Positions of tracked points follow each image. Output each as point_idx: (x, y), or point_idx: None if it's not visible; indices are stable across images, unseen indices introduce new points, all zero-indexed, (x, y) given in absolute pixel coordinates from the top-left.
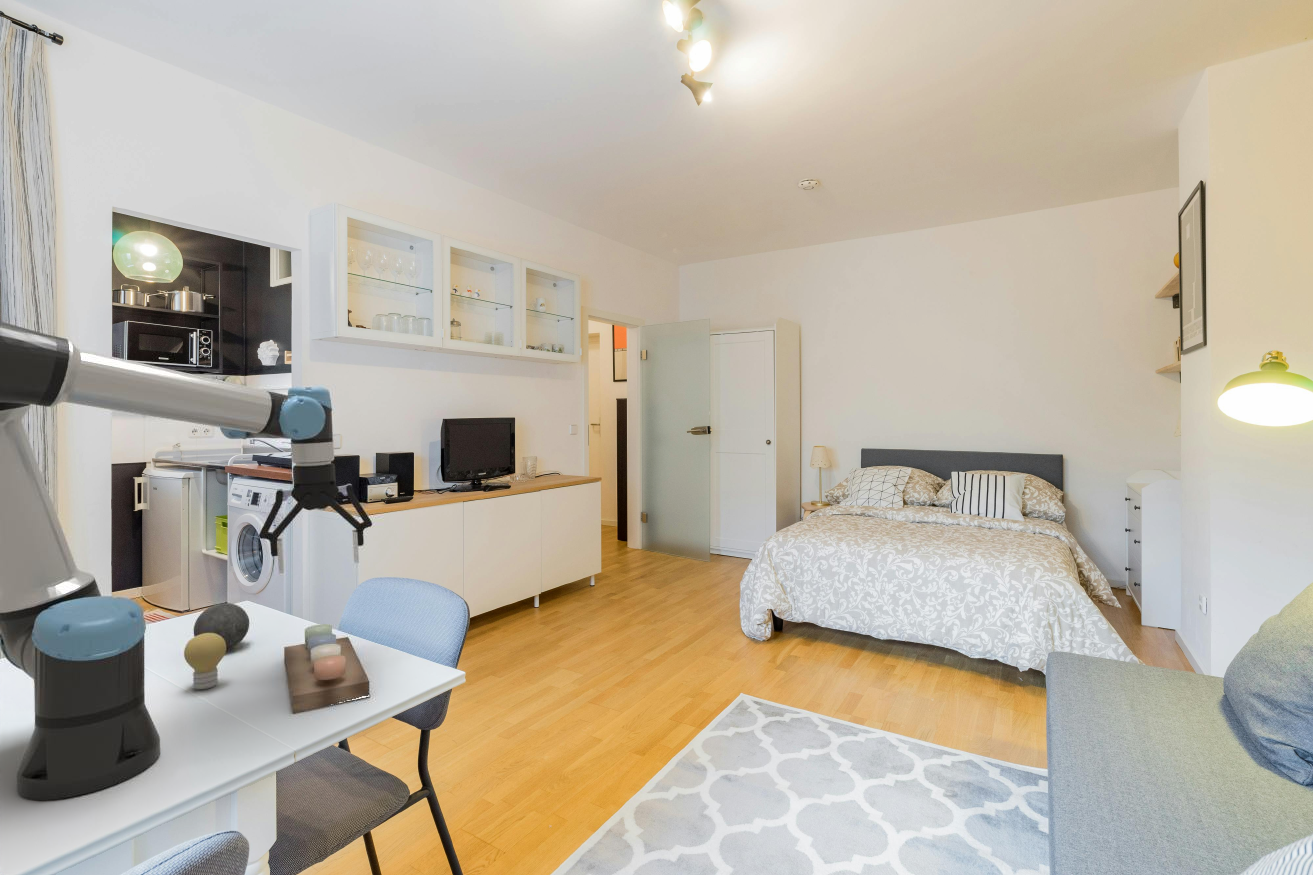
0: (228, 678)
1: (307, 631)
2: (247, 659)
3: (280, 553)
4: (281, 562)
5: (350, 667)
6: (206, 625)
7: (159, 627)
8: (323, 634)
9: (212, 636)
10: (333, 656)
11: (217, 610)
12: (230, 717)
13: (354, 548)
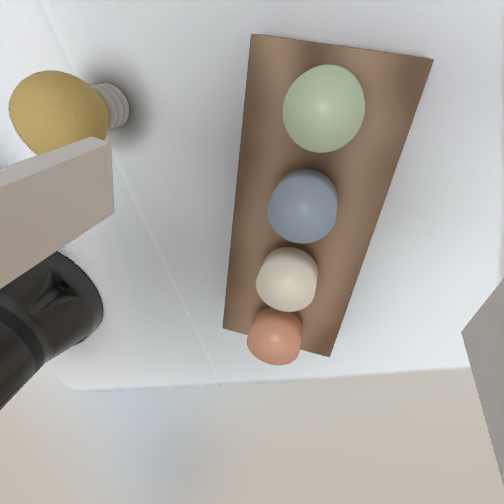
0: (148, 80)
1: (286, 126)
2: None
3: (22, 264)
4: (70, 237)
5: (330, 288)
6: None
7: None
8: (312, 189)
9: (51, 144)
10: (282, 336)
11: None
12: (160, 266)
13: (488, 416)
